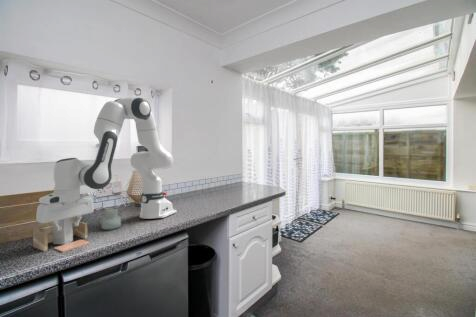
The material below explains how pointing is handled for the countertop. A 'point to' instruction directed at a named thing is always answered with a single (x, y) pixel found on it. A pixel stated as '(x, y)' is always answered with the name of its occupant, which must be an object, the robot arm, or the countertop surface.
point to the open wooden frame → (46, 235)
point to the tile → (71, 245)
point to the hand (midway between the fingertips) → (67, 228)
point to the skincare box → (63, 232)
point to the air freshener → (111, 219)
